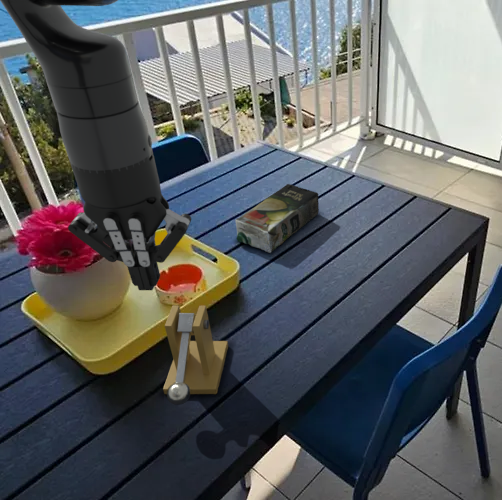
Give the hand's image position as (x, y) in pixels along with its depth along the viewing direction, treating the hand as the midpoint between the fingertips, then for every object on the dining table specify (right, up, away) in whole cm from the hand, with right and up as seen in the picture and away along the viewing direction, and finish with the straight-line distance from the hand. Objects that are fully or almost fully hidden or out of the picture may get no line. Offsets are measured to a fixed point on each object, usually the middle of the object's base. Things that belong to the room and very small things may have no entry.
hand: (148, 285), depth 59 cm
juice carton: (+7, +9, +56) cm, 57 cm away
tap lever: (-1, -12, +15) cm, 19 cm away
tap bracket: (-1, -15, +22) cm, 26 cm away
